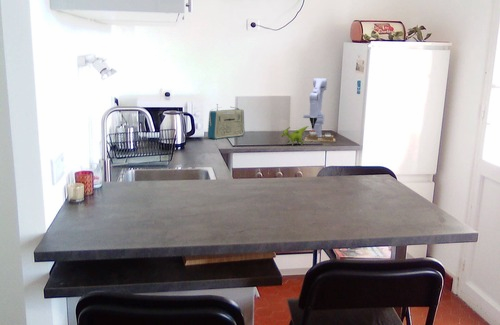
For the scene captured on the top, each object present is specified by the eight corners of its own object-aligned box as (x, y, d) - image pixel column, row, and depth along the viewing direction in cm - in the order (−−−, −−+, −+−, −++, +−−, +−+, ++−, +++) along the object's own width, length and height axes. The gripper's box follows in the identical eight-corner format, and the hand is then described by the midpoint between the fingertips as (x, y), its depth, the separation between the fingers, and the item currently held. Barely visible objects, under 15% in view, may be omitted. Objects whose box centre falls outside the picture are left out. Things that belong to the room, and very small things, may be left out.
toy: (285, 150, 337) (277, 132, 331) (309, 134, 342) (301, 116, 336) (291, 152, 329) (282, 134, 323) (315, 135, 335) (307, 117, 329)
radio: (213, 140, 344) (213, 105, 339) (207, 138, 350) (207, 104, 345) (245, 136, 364) (245, 103, 358) (238, 134, 369) (239, 102, 364)
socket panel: (305, 138, 359) (305, 133, 358) (335, 139, 355) (335, 135, 355) (304, 141, 347) (304, 136, 347) (335, 142, 344) (335, 137, 343)
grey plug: (324, 137, 353) (324, 132, 352) (330, 138, 352) (331, 133, 351) (324, 138, 348) (324, 133, 347) (330, 139, 348) (331, 133, 347)
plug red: (309, 135, 354) (309, 130, 353) (315, 135, 353) (315, 130, 352) (309, 136, 350) (309, 131, 349) (315, 136, 349) (315, 131, 348)
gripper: (303, 109, 345) (302, 128, 347) (323, 110, 342) (322, 129, 345) (304, 108, 351) (303, 127, 354) (324, 109, 349) (323, 128, 352)
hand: (312, 128), depth 350 cm, fingers closed
